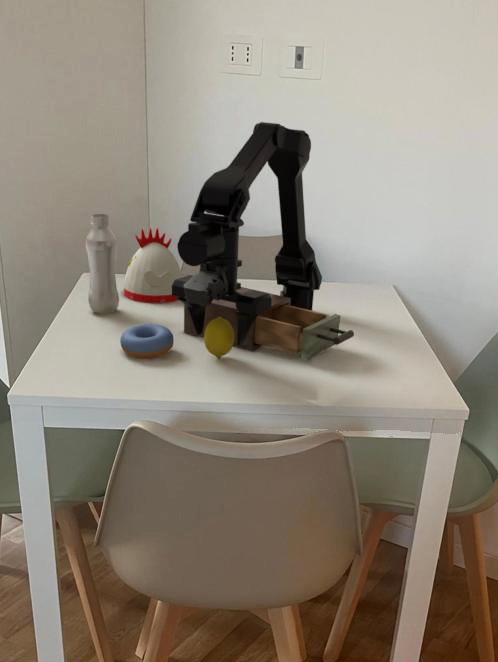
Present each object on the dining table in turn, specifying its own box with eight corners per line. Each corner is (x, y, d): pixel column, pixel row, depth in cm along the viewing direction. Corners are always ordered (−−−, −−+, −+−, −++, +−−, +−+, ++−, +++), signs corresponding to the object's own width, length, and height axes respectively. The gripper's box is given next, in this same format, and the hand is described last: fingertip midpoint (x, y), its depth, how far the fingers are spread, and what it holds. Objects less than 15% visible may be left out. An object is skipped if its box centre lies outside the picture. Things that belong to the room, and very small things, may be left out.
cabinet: (288, 334, 165) (290, 298, 162) (251, 351, 155) (253, 312, 152) (222, 317, 173) (223, 282, 170) (183, 332, 163) (184, 295, 159)
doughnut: (130, 364, 146) (129, 340, 144) (113, 346, 154) (113, 323, 152) (181, 358, 150) (181, 334, 148) (163, 341, 158) (163, 318, 156)
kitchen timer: (121, 286, 191) (119, 221, 183) (178, 285, 194) (179, 221, 187) (127, 303, 179) (126, 234, 172) (188, 302, 182) (189, 234, 175)
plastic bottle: (124, 309, 175) (122, 214, 165) (110, 318, 169) (106, 220, 160) (98, 305, 177) (94, 211, 167) (82, 313, 171) (77, 216, 161)
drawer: (359, 349, 157) (363, 320, 154) (329, 366, 147) (332, 335, 145) (271, 326, 166) (273, 299, 163) (237, 341, 157) (238, 312, 154)
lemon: (232, 364, 149) (234, 322, 145) (202, 362, 149) (203, 320, 145) (233, 353, 153) (235, 313, 150) (204, 352, 153) (205, 311, 150)
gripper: (151, 253, 140) (152, 339, 148) (239, 273, 132) (235, 363, 139) (190, 243, 149) (189, 325, 156) (275, 261, 140) (270, 346, 147)
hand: (219, 339), depth 149 cm, fingers open, 9 cm apart
